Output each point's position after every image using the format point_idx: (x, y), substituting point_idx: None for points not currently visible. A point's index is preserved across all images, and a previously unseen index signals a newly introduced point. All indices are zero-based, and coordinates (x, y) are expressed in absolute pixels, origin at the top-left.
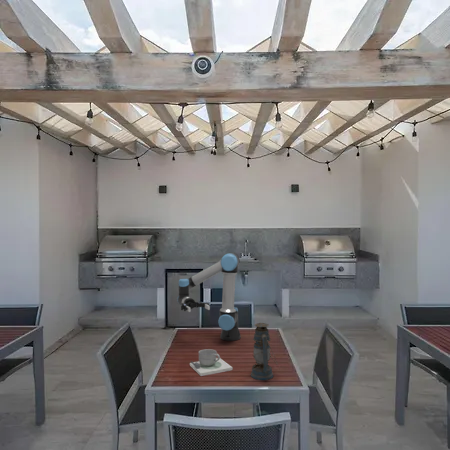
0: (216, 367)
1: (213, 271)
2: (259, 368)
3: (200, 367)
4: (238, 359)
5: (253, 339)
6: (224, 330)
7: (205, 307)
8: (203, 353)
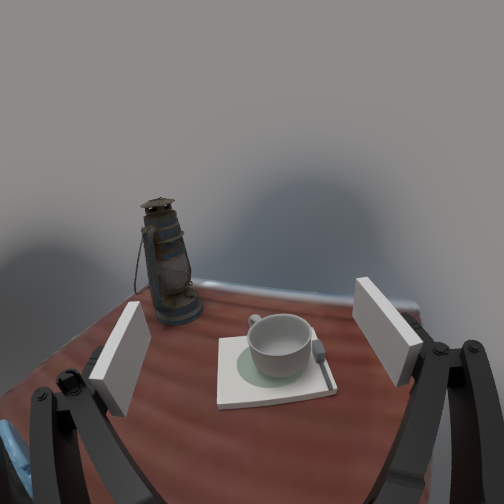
0: None
1: None
2: (187, 288)
3: None
4: (158, 394)
5: (180, 236)
6: None
7: (126, 394)
8: (288, 361)
